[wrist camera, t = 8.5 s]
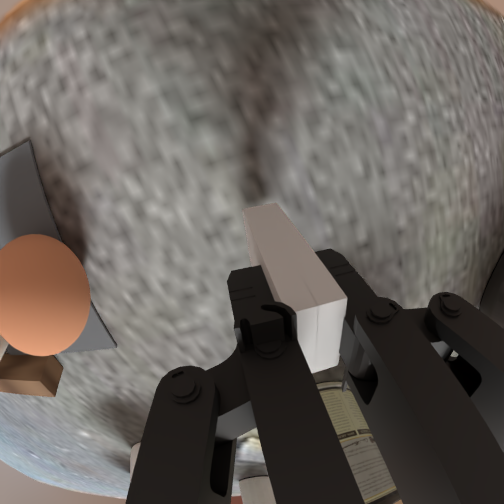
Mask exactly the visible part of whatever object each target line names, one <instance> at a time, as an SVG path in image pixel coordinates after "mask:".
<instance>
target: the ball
mask: <svg viewBox="0 0 504 504" xmlns="http://www.w3.org/2000/svg"><path fill="white" fill-rule="evenodd" d="M90 302H91V297H90V287H89V282H88V278H87V275H86V273H85V270H84V268H83V266H82V264H81V262H80V261H79V259H78V258H77V256H76V255H75V254H74V253H73V252H72V251H71V250H70V249H69V248H68V247H67V246H66V245H65V244H63V243H62V242H60V241H59V240H57V239H55V238H52V237H50V236H46V235H41V234H29V235H24V236H21V237H18V238H16V239H14V240H12V241H11V242H9V243H7V244H6V245H5V246H4V247H3V248H2V249H1V250H0V335H1V336H2V337H3V338H4V339H5V340H6V341H7V342H8V343H9V344H10V345H12V346H13V347H14V348H16V349H18V350H20V351H22V352H24V353H26V354H30V355H34V356H50V355H54V354H57V353H59V352H61V351H63V350H65V349H67V348H68V347H69V346H71V345H72V344H73V343H74V342H75V341H76V340H77V338H78V337H79V336H80V334H81V333H82V331H83V329H84V327H85V325H86V322H87V319H88V316H89V311H90Z"/></svg>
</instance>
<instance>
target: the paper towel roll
mask: <svg viewBox="0 0 504 504" xmlns="http://www.w3.org/2000/svg"><path fill="white" fill-rule="evenodd" d="M239 486H240V491H241V496H242V501H243V504H276V502H275V498H274V494H273V490H272V486H271V483H270V479H269V477H266V476H261V477H253V478H248V479H244V480H241V481H240V482H239Z"/></svg>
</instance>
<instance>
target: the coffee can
mask: <svg viewBox="0 0 504 504" xmlns="http://www.w3.org/2000/svg"><path fill="white" fill-rule="evenodd" d="M316 385H317V387H318V390H319V392H320V395H321V397H322V399H323V402H324V404H325V407H326V409H327V411H328V414H329V416H330V419H331V421H332V424H333V426H334V428H335V431H336V433H337V436H338V438H339V441H340V443H341V446H342V448H343V450H344V453H345V455H346V458H347V460H348V463H349V465H350V468H351V470H352V473H353V475H354V478H355V480H356V482H357V485H358V487H359V490H360V492H361V495H362V497H363V500H364V502H365V504H394V503H395V502H397V501H399V500H400V499H401V498H400V495H399V493H398V491H397V489H396V486H395V484H394V482H393V479H392V477H391V475H390V473H389V471H388V468H387V466H386V464H385V462H384V459H383V457H382V455H381V453H380V451H379V449H378V446H377V444H376V442H375V440H374V438H373V436H372V433H371V431H370V429H369V427H368V425H367V423H366V421H365V419H364V417H363V414H362V412H361V410H360V408H359V406H358V404H357V402H356V400H355V398H354V396H353V394H352V392H351V390H350V388H349V386H348V385H347V389H346V391H345V392H342V387H341V385H342V382H324V383H319V384H316Z"/></svg>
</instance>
